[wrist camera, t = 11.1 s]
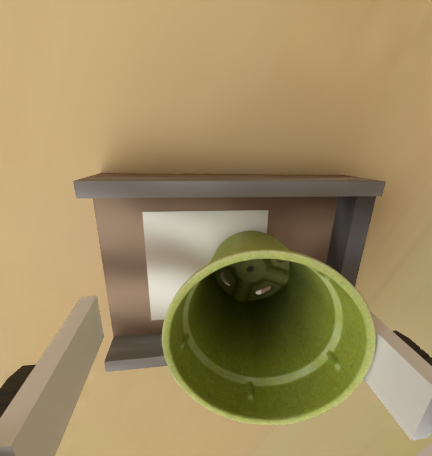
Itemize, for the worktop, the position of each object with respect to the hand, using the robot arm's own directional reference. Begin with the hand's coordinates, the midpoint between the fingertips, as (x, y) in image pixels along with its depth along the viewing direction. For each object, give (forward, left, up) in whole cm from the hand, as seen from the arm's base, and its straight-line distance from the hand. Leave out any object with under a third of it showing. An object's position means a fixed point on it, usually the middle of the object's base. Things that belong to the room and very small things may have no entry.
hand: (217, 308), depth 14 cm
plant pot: (0, +3, -5) cm, 6 cm away
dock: (0, +2, -8) cm, 8 cm away
